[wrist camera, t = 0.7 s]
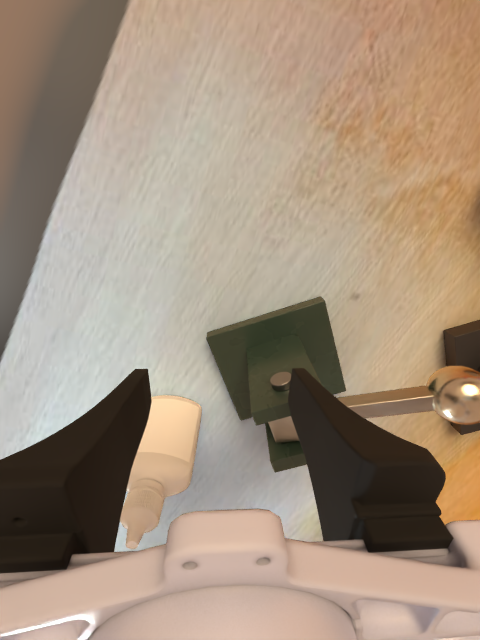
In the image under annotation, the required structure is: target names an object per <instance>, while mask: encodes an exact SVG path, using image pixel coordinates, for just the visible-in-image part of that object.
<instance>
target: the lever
mask: <svg viewBox="0 0 480 640" xmlns="http://www.w3.org/2000/svg"><path fill="white" fill-rule="evenodd" d="M337 399H338V400H339V401H341V402H342V403H343V404H344V405H346V406H347V407H348V408H350V409H351V410H353V411H354V412H355V413H357V414H358V415H360V416H361V417H363V418H373V417H382V416H391V415H400V414H408V413H417V412H426V411H435V412H436V413H437V414H438V415H440V416H441V417H443V418H444V419H446V420H448V421H451V422H454V423H458V424H475V423H479V422H480V372H478V371H477V370H474V369H472V368H469V367H465V366H447V367H443V368H441V369H439V370H437V371H436V372H434V373H433V374H432V375H431V376H430V378H429V379H428V381H427V384H426V386H419V387H412V388H404V389H397V390H390V391H382V392H375V393H368V394H360V395H353V396H345V397H338V398H337ZM268 423H269V426H270V429H271V431H272V434H273V437H274V439H275V442H276V443H282V442H292V441H299V438H298V435H297V433H296V430H295V427H294V424H293V421H292V418H291V416H289V417H285V418H282V419H278V420H275V421H271V422H268Z"/></svg>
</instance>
